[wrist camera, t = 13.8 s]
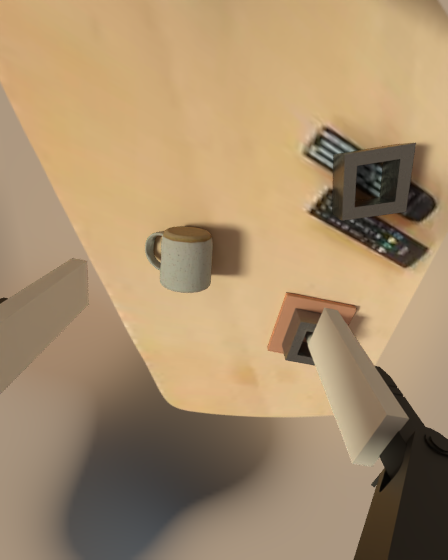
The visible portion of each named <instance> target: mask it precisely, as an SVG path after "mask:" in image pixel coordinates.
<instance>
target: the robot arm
mask: <svg viewBox="0 0 448 560" xmlns="http://www.w3.org/2000/svg"><path fill="white" fill-rule="evenodd" d="M88 302H89V300H88V270H87V261H85V260H80V259H74V258H72V259H70V260H69V261H67V262H66V263H64V264H63V265H61V266H59V267H58V268H56V269H55V270H53V271H51V272H50V273H48V274H47V275H45V276H43V277H42V278H40V279H39V280H37V281H36V282H34V283H32V284H31V285H29V286H28V287H26V288H24V289H23V290H21V291H20V292H18V293H17V294H15V295H13V296H12V297H10V298H9V299H8V298H1V299H0V394H1V393H2V392H3V391H4V390H5V389H6V388H7V387H8V386H9V385H10V384H11V383H12V382H13V381H14V380H15V379H16V378H17V377H18V376H19V375H20V374H21V373H22V371H24V370H25V369H26V368H27V367H28V365H29V364H30V363H32V361H33V360H34V359H35V358H36V357H37V356H38V355H39V354H40V353H41V352H42V351H43V350H44V349H45V348H46V347H47V346H48V345H49V344H50V343H51V342H52V341H53V340H54V339H55V338H56V337H57V336H58V335H59V334H60V333H61V332H62V331H63V330H64V329H65V328H66V327H67V326H68V325H69V324H70V323H71V322H72V321H73V320H74V319H75V318H76V317H77V316H78V315H79V314H80V313H81V312H82V311H83V310H84V309H85V308H86V307H87V306H88V304H89V303H88ZM308 348H309V350H310V353H311V356H312V358H313V361H314V364H315V366H316V369H317V371H318V374H319V377H320V379H321V382H322V385H323V387H324V390H325V393H326V395H327V398H328V400H329V403H330V406H331V408H332V411H333V414H334V416H335V419H336V421H337V424H338V427H339V429H340V432H341V435H342V437H343V440H344V443H345V445H346V448H347V451H348V453H349V456H350V458H351V461H352V463H353V464H359V465H364V466H373V465H374V464H375V462H376V461H377V459H378V458H379V457H380V458H381V461H382V463H383V465H384V467H385V468H384V469H383V471H382V472H381V473H380V474H379V476H378V477H377V478H376V479H375V481H374V482H373V483H372V484H371V485H372V486H373V487H375V486H376V485H377V486H376V489H375V493H374V496H373V499H372V502H371V506H370V509H369V512H368V515H367V518H366V522H365V525H364V528H363V531H362V534H361V537H360V541H359V544H358V547H357V550H356V554H355V557H354V560H448V439H446V438H445V437H444V436H443V435H441V434H440V433H438V432H436V431H434V430H432V429H431V428H427V427H425V426H424V424H423V423H422V421H421V420H420V418H419V417H418V416H417V414H416V413H415V411H414V410H413V409H412V407H411V406H410V404H409V403H408V401H407V400H406V398H405V397H403V394H402V393H401V391H400V390H399V389H398V388H397V386H396V384H395V383H394V381H393V380H392V378H391V377H390V376H389V375H388V374H387V373H386V372H385V371H384V370H383V369H381V368H380V367H377V366H374V365H373V363H372V362H371V360H370V359H369V357H368V356H367V354H366V353H365V351H364V350H363V348H362V346H361V345H360V343H359V342H358V340H357V339H356V337H355V336H354V334H353V333H352V331H351V330H350V328H349V327H348V325H347V324H346V322H345V321H344V319H343V318H342V316H341V315H340V313H339V312H338V310H334V309H329V308H324V309H323V312H322V314H321V316H320V319H319V321H318V323H317V326H316V328H315V330H314V332H313V335H312V337H311V339H310V342H309V344H308Z"/></svg>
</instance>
